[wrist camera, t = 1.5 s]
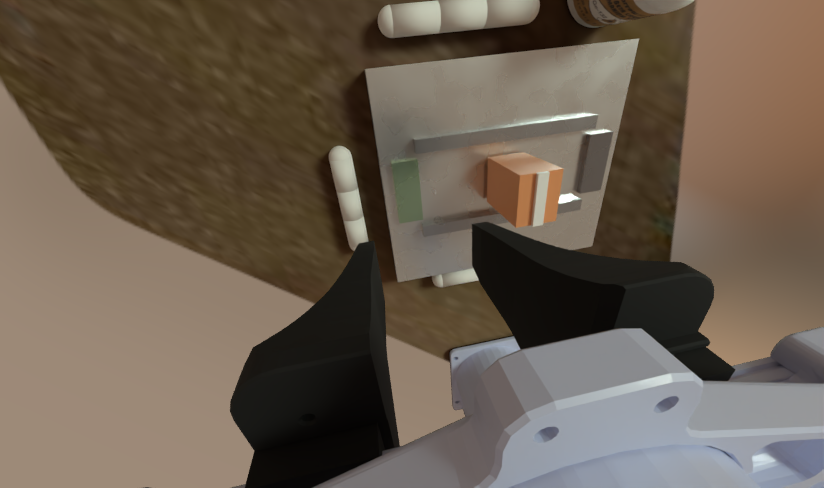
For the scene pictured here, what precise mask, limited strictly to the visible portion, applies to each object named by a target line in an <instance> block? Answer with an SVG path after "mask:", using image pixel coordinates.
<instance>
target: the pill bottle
mask: <svg viewBox="0 0 824 488" xmlns="http://www.w3.org/2000/svg"><path fill="white" fill-rule="evenodd" d="M693 1H695V0H567V3H568V7H569V10H570V12H571V14H572V16H573V17H574V19H575V20H576V21H577V22H578V23H579V24H581V25H583V26H586V27H590V28H597V27H602V26H607V25H612V24H618V23H621V22H625V21H630V20H635V19H640V18H645V17H650V16H654V15H659V14H664V13H668V12H672V11H675V10H678V9H680V8H683V7H685V6H687V5H688V4H690V3H692V2H693Z"/></svg>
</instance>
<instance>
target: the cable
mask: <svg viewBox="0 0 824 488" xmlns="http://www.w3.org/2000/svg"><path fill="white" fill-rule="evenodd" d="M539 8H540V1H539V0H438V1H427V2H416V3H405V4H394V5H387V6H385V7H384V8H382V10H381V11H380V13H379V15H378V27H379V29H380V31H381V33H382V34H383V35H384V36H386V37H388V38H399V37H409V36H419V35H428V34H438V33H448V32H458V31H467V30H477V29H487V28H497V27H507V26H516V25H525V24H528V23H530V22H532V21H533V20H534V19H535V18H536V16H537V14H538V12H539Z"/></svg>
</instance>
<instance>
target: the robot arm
mask: <svg viewBox="0 0 824 488" xmlns="http://www.w3.org/2000/svg"><path fill="white" fill-rule="evenodd" d="M472 266H473V268H474V271H475V273H476V275H477V277H478V279H479V281H480V283H481V285H482V287H483V288H484V290H485V291H486V293H487V294H488V296H489V297H490V299H491V300H492V302H493V303H494V305H495V306H496V308H497V310H498V311H499V313H500V314H501V316H502V317H503V319H504V320H505V322H506V323H507V325H508V327H509V328H510V330H511V332H512V334H513V336H512V337H508V338H503V339H498V340H493V341H489V342H484V343H479V344H475V345H470V346H465V347H461V348H456V349H453V350H451V351H450V368H451V387H452V404H453V408H454V410H460V409H463V411H464V414H465V417H464V418H462V419H460V420H458V421H456V422H454V423H451V424H449V425H447V426H445V427H443V428H441V429H438V430H436V431H434V432H432V433H430V434H427V435H425V436H423V437H421V438H419V439H417V440H415V441H413V442H410V443H408V444H406V445H404V446H401V447H400V445H399V438H398V432H397V425H396V418H395V411H394V403H393V397H392V389H391V382H390V375H389V367H388V360H387V351H386V323H385V300H384V294H383V287H382V281H381V276H380V270H379V265H378V259H377V254H376V249H375V243H374V241H370V242H364V243H359V244H358V245H357V247H356V249H355V251H354V253H353V255H352V257H351V259H350V261H349V262H348V264H347V266H346V267H345V269H344V271H343V272H342V274H341V275H340V276H339V278H338V279H337V281H336V282H335V283H334V285H333V286H332V287H331V288H330V290H329V291H328V292H327V293H326V294H325V295H324V296H323V297H322V298H321V299H320V300H319V301H318V302H317V303H316V304H315V305H314V306H312V307H311V308H310V309H309V310H308V311H307V312H306V313H305V314H303V315H302V316H301V317H299V318H298V319H297V320H296V321H294V322H293V323H291V324H290V325H289V326H287V327H286V328H284V329H283V330H282V331H280V332H278V333H277V334H275V335H273V336H272V337H270V338H268V339H267V340H265V341H263V342H262V343H260V344H258V345H257V346H255V347H253V349H252V351H251V353H250V355H249V357H248V359H247V361H246V363H245V365H244V367H243V370H242V372H241V375H240V378H239V380H238V383H237V385H236V388H235V391H234V393H233V396H232V399H231V404H230V412H231V415H232V417H233V419H234V421H235V423H236V424H237V426H238V427H239V429H240V430H241V432H242V433H243V435H244V436H245V437H246V439H247V440H248V442H249V443H250V445H251V446H252V448H253V449H254V455H253V459H252V463H251V466H250V470H249V474H248V478H247V481H246V484H244V485H241V486H236V487H232V488H824V327H819V328H815V329H811V330H806V331H802V332H798V333H794V334H791V335H788V336H786V337H784V338H783V339H782V340H780V341H779V342H778V343H777V344H776V346H775V347H774V348H773V350H772V352H771V357H767V358H763V359H759V360H755V361H750V362H746V363H742V364H738V365H734V366H730V365H729V364H728V363H726V362H725V361H724V360H722V359H721V358H720V357H718V356H717V355H716V354H714V353H713V352H712V351H710V350H709V349H708V348H706V346H708V345H709V344H710V341H709V339H708V338H706V337H705V336H704V335H702V334H701V333H699V332H698V329H699V327H700V326H701V324H702V322H703V320H704V318H705V316H706V314H707V312H708V310H709V308H710V306H711V303H712V300H713V298H714V286H713V283H712V281H711V279H710V278H708V277H707V276H706V275H704V274H702V273H701V272H699V271H697V270H695V269H693V268H692V267H690V266H688V265H686V264H684V263H681V262H661V261H640V260H630V259H620V258H612V257H604V256H598V255H592V254H586V253H581V252H576V251H572V250H568V249H564V248H560V247H556V246H553V245H549V244H546V243H543V242H540V241H537V240H534V239H531V238H528V237H526V236H523V235H521V234H518V233H515V232H513V231H510V230H508V229H505V228H503V227H500V226H498V225H495V224H492V223H489V222H481V223H475V224H472ZM145 488H149V487H145Z"/></svg>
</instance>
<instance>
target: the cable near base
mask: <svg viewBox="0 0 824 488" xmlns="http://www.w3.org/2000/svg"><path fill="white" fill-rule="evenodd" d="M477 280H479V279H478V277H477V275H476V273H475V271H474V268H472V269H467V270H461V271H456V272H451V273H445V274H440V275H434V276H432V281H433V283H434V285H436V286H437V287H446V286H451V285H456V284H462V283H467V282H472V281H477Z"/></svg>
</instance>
